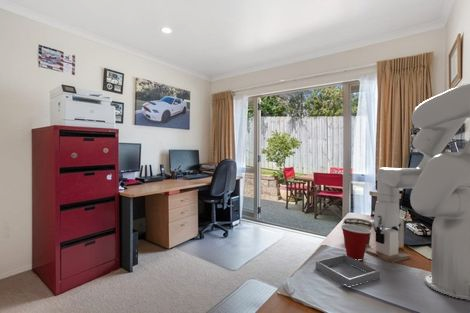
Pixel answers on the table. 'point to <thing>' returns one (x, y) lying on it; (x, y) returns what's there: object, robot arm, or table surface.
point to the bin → (323, 264)
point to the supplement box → (400, 234)
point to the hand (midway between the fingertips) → (387, 240)
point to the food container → (359, 224)
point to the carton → (389, 242)
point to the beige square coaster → (391, 259)
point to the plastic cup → (355, 240)
